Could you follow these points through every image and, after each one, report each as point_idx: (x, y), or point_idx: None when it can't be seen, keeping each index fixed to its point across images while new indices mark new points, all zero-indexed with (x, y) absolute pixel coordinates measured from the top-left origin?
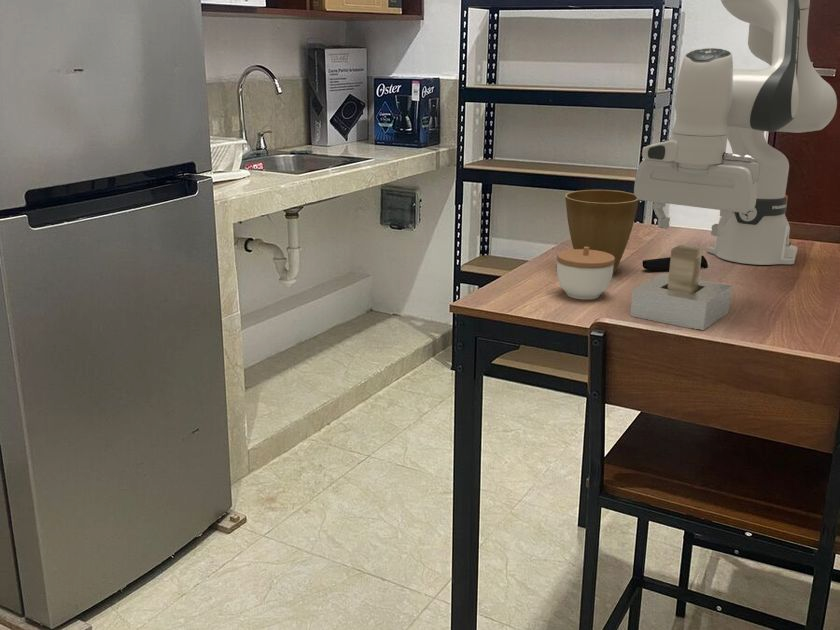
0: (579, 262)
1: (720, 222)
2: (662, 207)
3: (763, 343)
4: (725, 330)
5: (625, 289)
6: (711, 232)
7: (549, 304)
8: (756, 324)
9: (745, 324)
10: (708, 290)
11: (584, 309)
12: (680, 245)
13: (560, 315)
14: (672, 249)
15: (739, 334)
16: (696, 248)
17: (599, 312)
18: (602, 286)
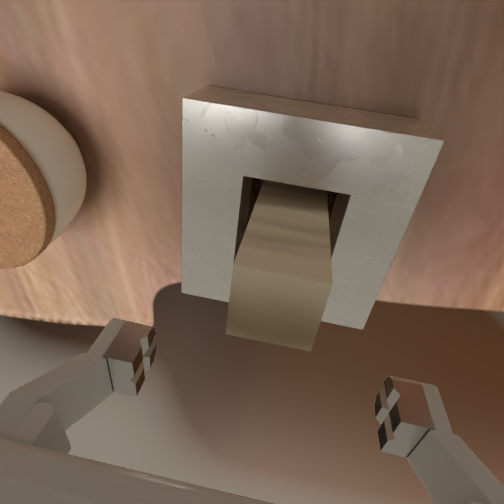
0: (3, 268)
1: (430, 489)
2: (61, 423)
3: (479, 307)
4: (403, 263)
5: (86, 24)
6: (377, 414)
7: (46, 249)
8: (489, 192)
9: (457, 204)
10: (362, 233)
11: (111, 251)
12: (237, 276)
13: (101, 297)
14: (229, 333)
15: (433, 276)
16: (309, 297)
17: (143, 256)
18: (83, 198)
